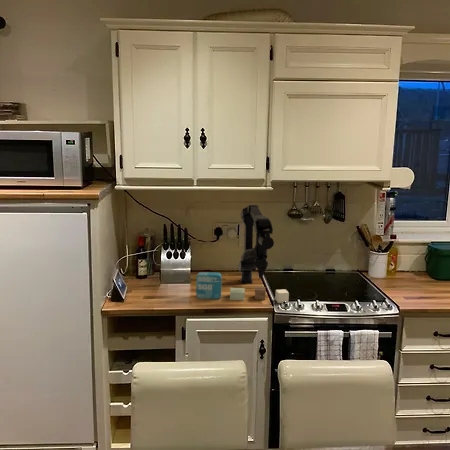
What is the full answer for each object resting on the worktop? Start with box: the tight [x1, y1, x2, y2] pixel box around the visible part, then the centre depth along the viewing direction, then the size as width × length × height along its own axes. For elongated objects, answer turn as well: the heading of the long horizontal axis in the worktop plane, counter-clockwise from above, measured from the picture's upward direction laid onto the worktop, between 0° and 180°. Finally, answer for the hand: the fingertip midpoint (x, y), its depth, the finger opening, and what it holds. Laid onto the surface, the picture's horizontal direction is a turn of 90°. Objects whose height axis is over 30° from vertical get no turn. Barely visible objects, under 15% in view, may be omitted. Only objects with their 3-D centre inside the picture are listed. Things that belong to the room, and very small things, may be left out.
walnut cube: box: [254, 286, 266, 301], centre depth 228 cm, size 5×5×5 cm
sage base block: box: [229, 287, 246, 301], centre depth 228 cm, size 7×7×4 cm
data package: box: [195, 271, 222, 300], centre depth 227 cm, size 12×4×12 cm, turn 89°
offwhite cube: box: [274, 288, 290, 304], centre depth 225 cm, size 5×5×5 cm
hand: (260, 275), depth 226 cm, fingers open, 9 cm apart
